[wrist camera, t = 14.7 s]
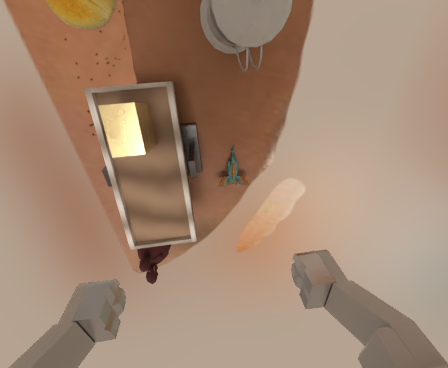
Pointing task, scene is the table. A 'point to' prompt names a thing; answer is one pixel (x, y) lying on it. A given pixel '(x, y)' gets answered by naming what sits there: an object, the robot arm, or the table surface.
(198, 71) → the table surface
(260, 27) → the french press
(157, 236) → the balance beam
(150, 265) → the icecream
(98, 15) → the bread roll
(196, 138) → the pivot stand
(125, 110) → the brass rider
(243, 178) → the dragon figurine
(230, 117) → the table surface
